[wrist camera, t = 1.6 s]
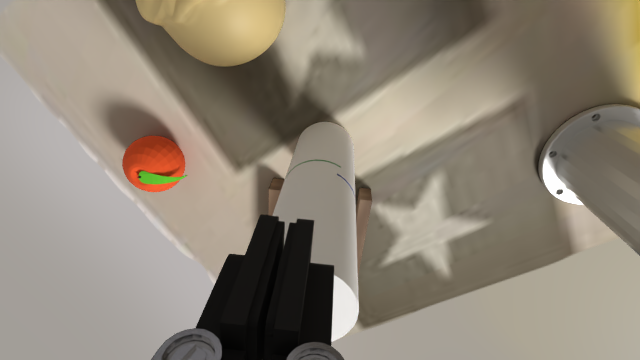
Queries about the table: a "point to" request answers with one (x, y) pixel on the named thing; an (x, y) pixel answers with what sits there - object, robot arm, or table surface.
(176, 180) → the clementine
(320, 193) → the cylindrical container
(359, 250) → the cradle rails
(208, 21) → the pale yellow lumpy blob
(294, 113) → the table surface
